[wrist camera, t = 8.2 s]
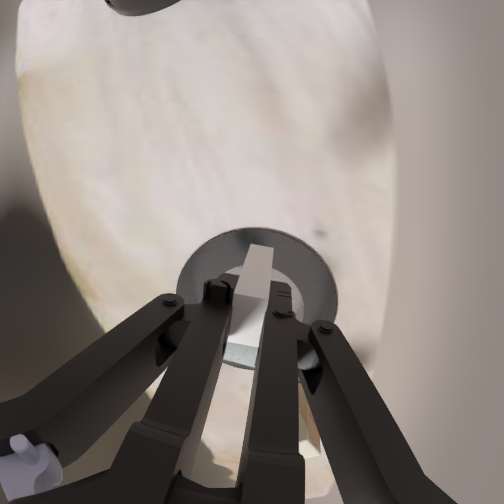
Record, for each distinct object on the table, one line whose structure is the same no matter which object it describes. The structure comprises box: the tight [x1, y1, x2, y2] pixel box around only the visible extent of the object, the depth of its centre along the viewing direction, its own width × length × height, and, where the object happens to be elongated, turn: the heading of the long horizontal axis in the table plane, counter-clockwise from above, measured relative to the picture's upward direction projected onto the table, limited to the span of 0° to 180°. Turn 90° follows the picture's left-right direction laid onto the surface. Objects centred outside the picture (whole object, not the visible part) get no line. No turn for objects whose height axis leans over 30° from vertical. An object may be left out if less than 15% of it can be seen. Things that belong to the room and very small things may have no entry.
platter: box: [176, 229, 337, 370], centre depth 33 cm, size 20×20×1 cm
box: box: [298, 383, 321, 459], centre depth 32 cm, size 5×4×11 cm
